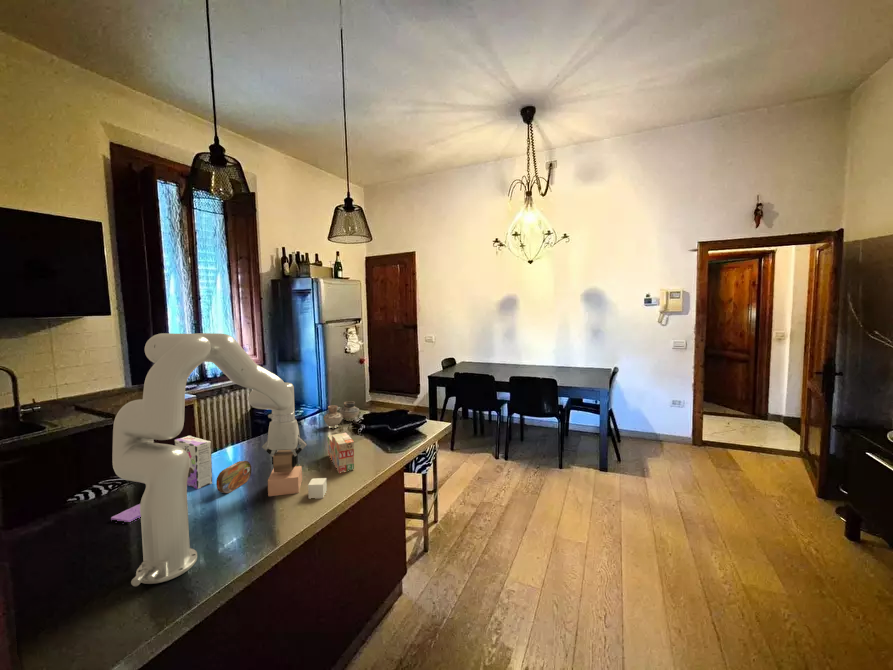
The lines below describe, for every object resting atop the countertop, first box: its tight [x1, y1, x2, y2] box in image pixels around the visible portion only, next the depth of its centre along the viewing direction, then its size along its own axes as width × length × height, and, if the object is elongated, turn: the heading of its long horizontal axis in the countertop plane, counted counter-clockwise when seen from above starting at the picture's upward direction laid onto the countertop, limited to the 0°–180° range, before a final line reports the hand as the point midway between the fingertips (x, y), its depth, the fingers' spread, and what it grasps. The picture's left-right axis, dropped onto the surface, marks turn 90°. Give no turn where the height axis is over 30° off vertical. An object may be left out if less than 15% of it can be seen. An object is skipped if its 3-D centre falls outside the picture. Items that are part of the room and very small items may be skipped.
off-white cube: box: [307, 477, 328, 500], centre depth 136 cm, size 5×5×5 cm
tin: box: [215, 460, 252, 494], centre depth 141 cm, size 15×3×8 cm, turn 168°
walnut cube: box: [272, 450, 294, 472], centre depth 140 cm, size 6×6×6 cm
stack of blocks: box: [326, 432, 355, 474], centre depth 163 cm, size 21×6×12 cm, turn 28°
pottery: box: [323, 400, 360, 426], centre depth 218 cm, size 11×25×12 cm, turn 158°
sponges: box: [110, 503, 141, 522], centre depth 124 cm, size 7×13×2 cm, turn 165°
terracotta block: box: [267, 465, 303, 497], centre depth 141 cm, size 10×10×6 cm
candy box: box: [174, 435, 213, 490], centre depth 145 cm, size 14×6×16 cm, turn 62°
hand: (285, 465), depth 140 cm, fingers closed on walnut cube, 6 cm apart
